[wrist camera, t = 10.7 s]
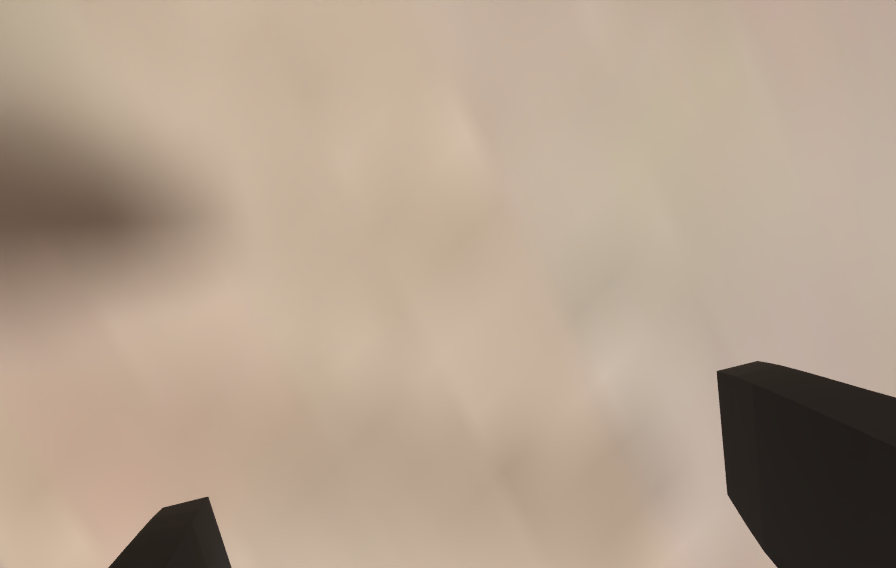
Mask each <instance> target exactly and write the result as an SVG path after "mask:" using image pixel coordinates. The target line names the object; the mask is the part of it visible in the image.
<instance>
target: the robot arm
mask: <svg viewBox="0 0 896 568" xmlns="http://www.w3.org/2000/svg"><path fill="white" fill-rule="evenodd" d="M717 380H718V391H719V403H720V414H721V426H722V437H723V449H724V460H725V471H726V483H727V494H728V496H729V498H730V499H731V501H732V503H733V504H734V506H735V507H736V509H737V511H738V512H739V514H740V515H741V517H742V519H743V520H744V522H745V523H746V525H747V527H748V528H749V530H750V531H751V533H752V534H753V536H754V537H755V538H756V540H757V541H758V543H759V544H760V546H761V547H762V549H763V550H764V552H765V553H766V554H767V555H768V557H769V558H770V559H771V560H772V561H773V563H774V564H775V565H776V566H777V567H778V568H896V398H895V397H891V396H888V395H884V394H881V393H877V392H874V391H870V390H866V389H863V388H859V387H856V386H853V385H849V384H846V383H842V382H839V381H835V380H832V379H828V378H825V377H821V376H818V375H814V374H811V373H807V372H804V371H800V370H796V369H792V368H789V367H785V366H780V365H776V364H771V363H766V362H760V361H756V362H752V363H748V364H744V365H740V366H736V367H732V368H728V369H724V370H719V371H717ZM109 568H231V565H230V562H229V559H228V556H227V553H226V550H225V547H224V544H223V540H222V537H221V534H220V531H219V528H218V525H217V522H216V519H215V516H214V513H213V510H212V507H211V504H210V501H209V498H208V497H205V498H201V499H197V500H193V501H189V502H184V503H180V504H176V505H172V506H168V507H164V508H162V509H161V510H160V511H159V512H158V513H157V514H156V515H155V516H154V517H153V518H152V519H151V520H150V521H149V522H148V523H147V524H146V525H145V527H144V528H143V529H142V530H141V531H140V532H139V533H138V534H137V536H136V537H135V538H134V539H133V540H132V541H131V542H130V544H129V545H128V546H127V547H126V548H125V549H124V550H123V552H122V553H121V554H120V555H119V556H118V557H117V559H116V560H115V561H114V562H113V563H112V564H111V565H110V566H109Z"/></svg>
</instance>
